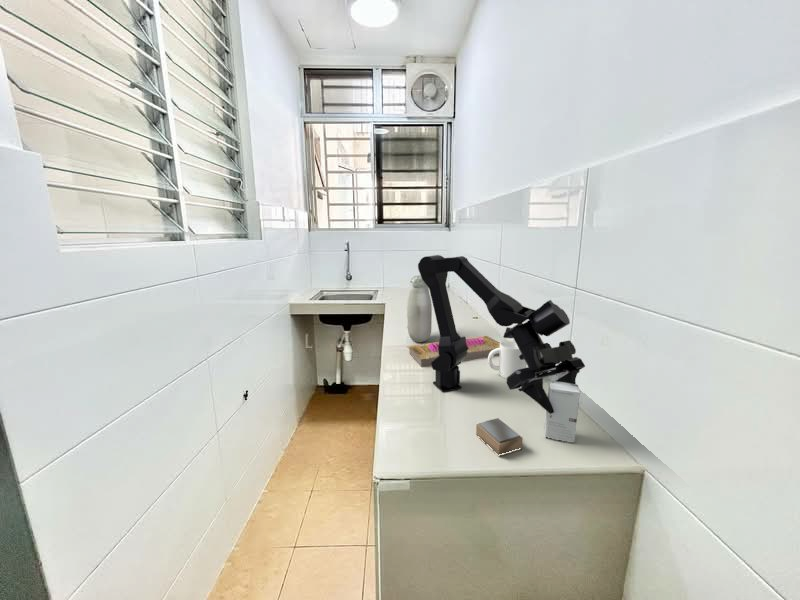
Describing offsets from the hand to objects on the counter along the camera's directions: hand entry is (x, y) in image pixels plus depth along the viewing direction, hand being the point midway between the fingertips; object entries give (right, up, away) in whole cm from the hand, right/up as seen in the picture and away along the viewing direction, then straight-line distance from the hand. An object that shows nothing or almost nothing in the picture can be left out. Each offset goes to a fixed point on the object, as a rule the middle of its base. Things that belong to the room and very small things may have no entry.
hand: (565, 409), depth 72 cm
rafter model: (-15, +3, +52) cm, 54 cm away
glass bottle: (-28, +6, +68) cm, 74 cm away
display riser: (-14, -7, +1) cm, 16 cm away
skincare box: (0, -7, +2) cm, 7 cm away
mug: (-2, 0, +34) cm, 34 cm away
